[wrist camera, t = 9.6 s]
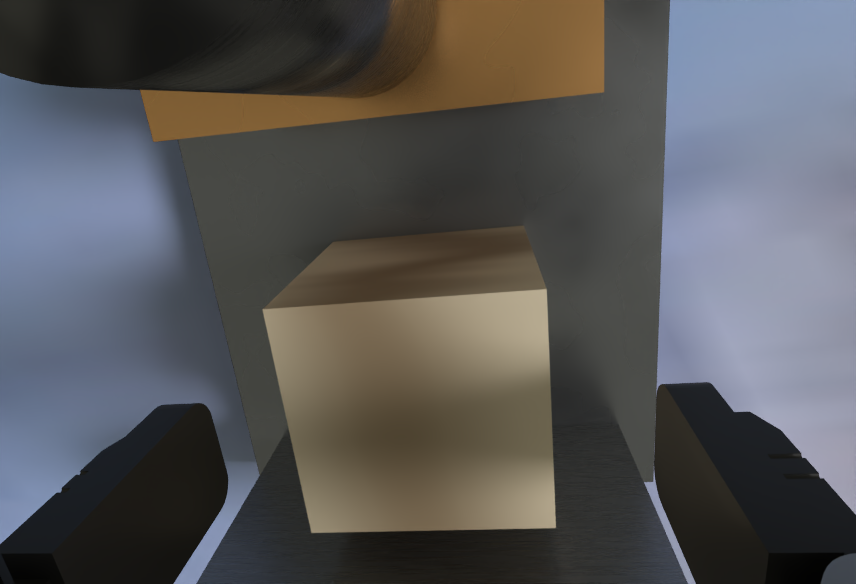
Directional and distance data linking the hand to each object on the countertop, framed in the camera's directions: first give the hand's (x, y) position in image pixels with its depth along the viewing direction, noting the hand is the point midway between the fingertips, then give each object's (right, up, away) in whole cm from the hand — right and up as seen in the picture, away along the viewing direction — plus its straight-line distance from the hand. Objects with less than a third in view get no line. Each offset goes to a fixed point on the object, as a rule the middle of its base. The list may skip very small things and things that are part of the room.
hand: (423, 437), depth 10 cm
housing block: (0, +2, +5) cm, 6 cm away
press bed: (0, +4, +6) cm, 7 cm away
